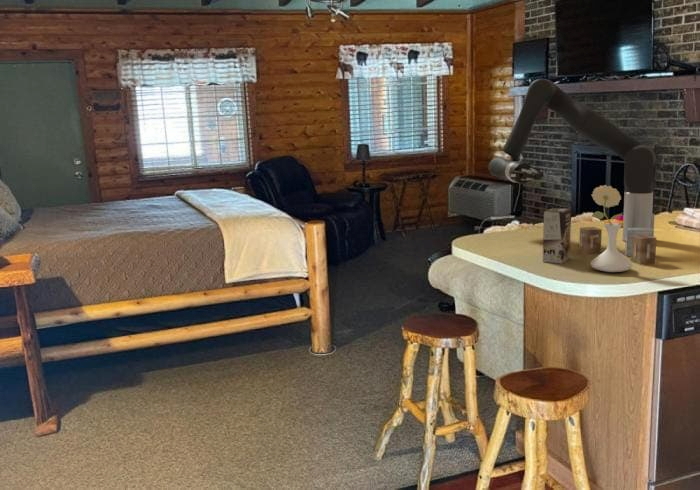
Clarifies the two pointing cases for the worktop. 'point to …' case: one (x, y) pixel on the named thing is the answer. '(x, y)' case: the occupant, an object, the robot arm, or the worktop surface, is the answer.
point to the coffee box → (556, 235)
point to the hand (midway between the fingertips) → (538, 176)
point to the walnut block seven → (590, 240)
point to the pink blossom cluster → (616, 220)
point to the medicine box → (635, 232)
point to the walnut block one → (643, 249)
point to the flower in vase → (609, 233)
